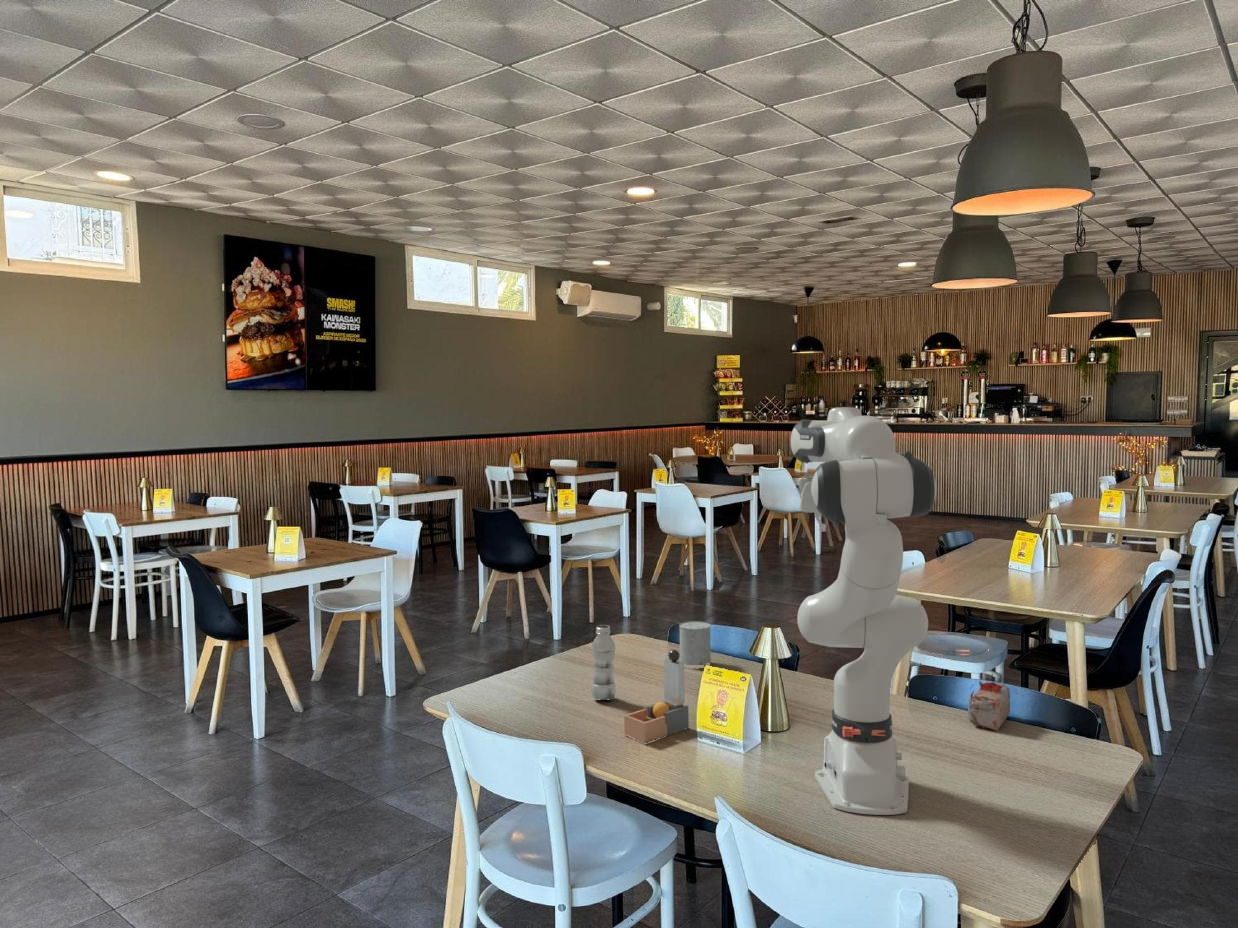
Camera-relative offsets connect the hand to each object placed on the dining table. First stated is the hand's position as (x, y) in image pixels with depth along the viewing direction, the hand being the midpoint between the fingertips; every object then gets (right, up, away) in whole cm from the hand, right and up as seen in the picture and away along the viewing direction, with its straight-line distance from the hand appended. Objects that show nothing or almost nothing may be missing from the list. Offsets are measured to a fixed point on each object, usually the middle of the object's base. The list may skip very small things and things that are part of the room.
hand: (842, 531), depth 200 cm
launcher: (-42, -48, +2) cm, 64 cm away
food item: (+37, -47, +4) cm, 60 cm away
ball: (-44, -43, 0) cm, 61 cm away
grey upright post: (-41, -45, +3) cm, 61 cm away
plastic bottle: (-58, -47, +23) cm, 79 cm away
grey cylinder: (-31, -45, +54) cm, 77 cm away
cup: (-48, -49, -3) cm, 68 cm away
